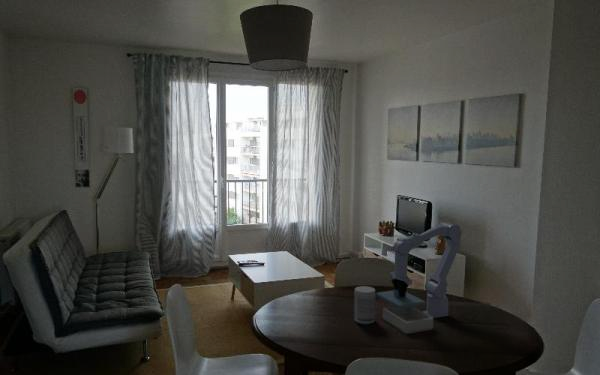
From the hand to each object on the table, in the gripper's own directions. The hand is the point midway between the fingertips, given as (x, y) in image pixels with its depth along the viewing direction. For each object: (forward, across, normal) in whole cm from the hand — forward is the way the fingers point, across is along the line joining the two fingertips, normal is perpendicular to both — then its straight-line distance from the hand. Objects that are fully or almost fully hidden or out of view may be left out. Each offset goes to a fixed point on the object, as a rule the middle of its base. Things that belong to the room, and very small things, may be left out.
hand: (399, 295), depth 208 cm
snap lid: (+2, 0, 0) cm, 2 cm away
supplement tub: (+11, -3, -17) cm, 20 cm away
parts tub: (+10, +8, -1) cm, 13 cm away
